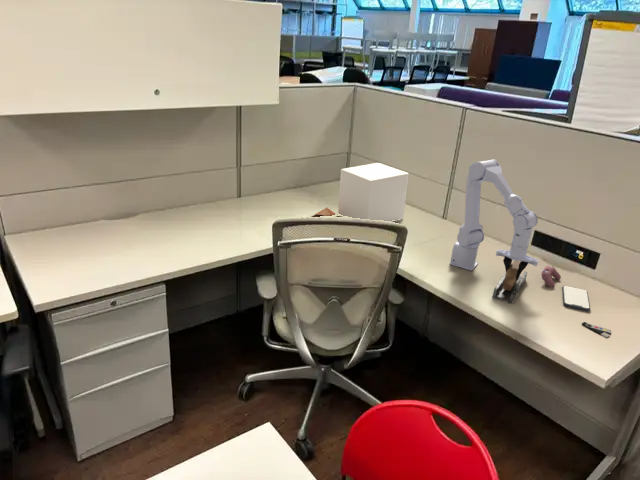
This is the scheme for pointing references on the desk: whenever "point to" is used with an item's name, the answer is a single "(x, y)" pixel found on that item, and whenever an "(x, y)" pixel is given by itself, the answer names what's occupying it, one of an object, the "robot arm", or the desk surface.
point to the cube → (373, 192)
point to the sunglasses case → (324, 213)
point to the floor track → (506, 294)
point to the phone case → (575, 298)
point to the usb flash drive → (597, 329)
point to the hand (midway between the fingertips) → (512, 277)
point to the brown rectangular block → (511, 276)
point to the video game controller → (550, 275)
